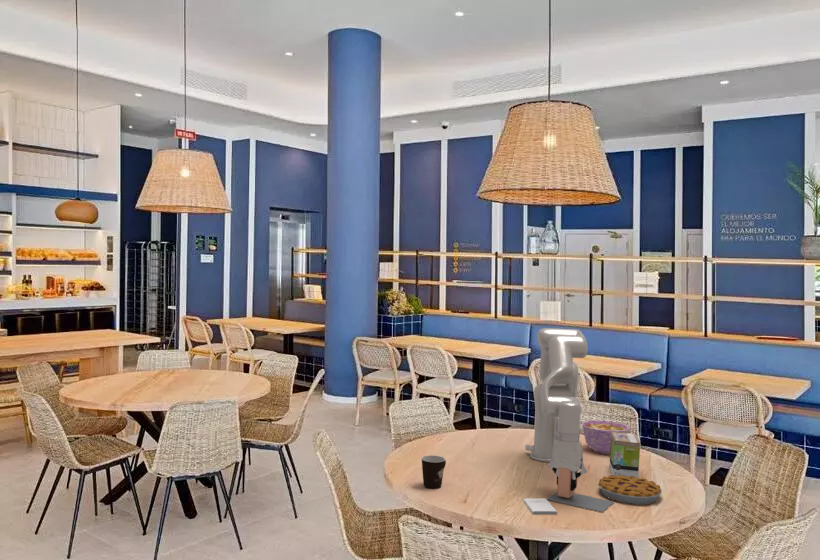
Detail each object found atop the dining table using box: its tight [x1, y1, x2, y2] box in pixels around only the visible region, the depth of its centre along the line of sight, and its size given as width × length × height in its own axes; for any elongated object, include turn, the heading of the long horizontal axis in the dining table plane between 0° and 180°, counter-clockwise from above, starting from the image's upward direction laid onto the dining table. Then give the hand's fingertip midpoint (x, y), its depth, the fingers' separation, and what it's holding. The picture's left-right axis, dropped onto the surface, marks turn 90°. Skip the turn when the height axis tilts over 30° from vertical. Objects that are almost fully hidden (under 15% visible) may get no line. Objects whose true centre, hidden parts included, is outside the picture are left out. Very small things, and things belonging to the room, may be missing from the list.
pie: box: [597, 474, 662, 505], centre depth 247 cm, size 22×22×5 cm
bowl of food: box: [581, 419, 630, 455], centre depth 304 cm, size 20×20×12 cm
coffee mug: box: [421, 454, 447, 490], centre depth 250 cm, size 12×9×10 cm
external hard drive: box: [522, 497, 558, 515], centre depth 231 cm, size 2×8×12 cm
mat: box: [546, 490, 615, 513], centre depth 238 cm, size 20×12×1 cm, turn 57°
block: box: [557, 467, 576, 498], centre depth 241 cm, size 4×6×10 cm, turn 147°
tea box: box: [608, 432, 641, 478], centre depth 272 cm, size 15×10×15 cm, turn 168°
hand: (566, 487), depth 241 cm, fingers closed on block, 4 cm apart
